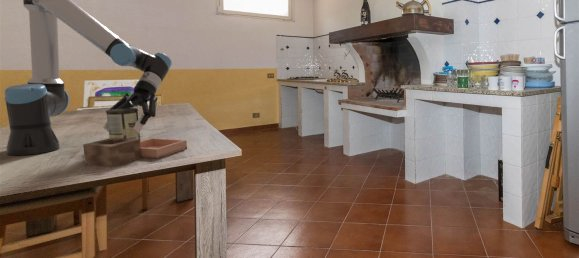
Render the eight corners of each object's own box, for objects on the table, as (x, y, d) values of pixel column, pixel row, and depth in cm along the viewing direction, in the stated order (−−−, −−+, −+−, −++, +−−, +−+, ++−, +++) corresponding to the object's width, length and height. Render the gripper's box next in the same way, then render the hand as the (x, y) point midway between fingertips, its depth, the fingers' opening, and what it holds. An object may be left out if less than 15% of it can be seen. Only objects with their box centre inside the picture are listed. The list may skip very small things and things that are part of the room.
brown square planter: (85, 163, 103) (83, 144, 102) (115, 155, 114) (113, 137, 113) (113, 166, 100) (111, 146, 99) (141, 157, 110) (139, 139, 109)
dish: (120, 155, 113) (120, 146, 113) (153, 145, 127) (152, 138, 127) (157, 158, 108) (156, 149, 108) (186, 148, 122) (186, 140, 122)
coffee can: (120, 144, 130) (117, 108, 128) (146, 145, 129) (143, 107, 127) (103, 151, 120) (99, 111, 118) (131, 151, 119) (127, 111, 117)
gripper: (116, 79, 135) (87, 123, 123) (168, 79, 126) (142, 125, 115) (128, 92, 141) (101, 134, 129) (178, 92, 132) (154, 138, 121)
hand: (120, 130), depth 122 cm, fingers open, 13 cm apart
